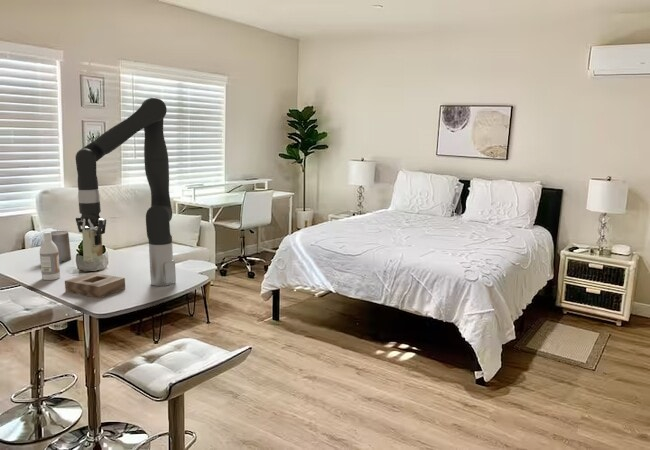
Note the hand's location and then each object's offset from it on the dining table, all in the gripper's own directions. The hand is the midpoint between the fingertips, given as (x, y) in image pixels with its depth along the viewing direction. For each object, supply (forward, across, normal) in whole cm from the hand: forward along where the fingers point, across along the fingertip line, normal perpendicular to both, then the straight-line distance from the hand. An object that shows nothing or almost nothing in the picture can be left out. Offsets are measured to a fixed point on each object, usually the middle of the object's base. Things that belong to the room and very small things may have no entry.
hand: (92, 243), depth 199 cm
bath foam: (+19, +30, -4) cm, 36 cm away
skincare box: (+7, 0, 0) cm, 7 cm away
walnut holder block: (+19, 0, 0) cm, 19 cm away
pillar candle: (+19, +53, -27) cm, 63 cm away
